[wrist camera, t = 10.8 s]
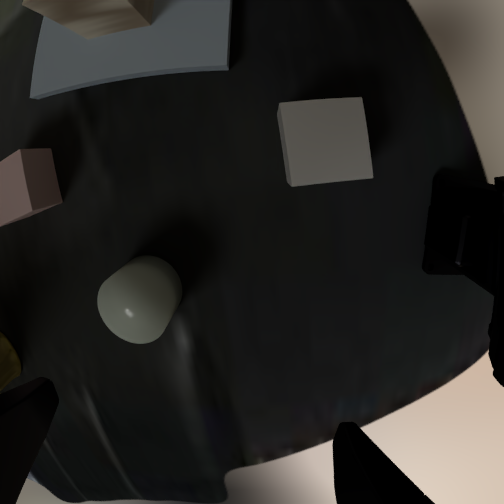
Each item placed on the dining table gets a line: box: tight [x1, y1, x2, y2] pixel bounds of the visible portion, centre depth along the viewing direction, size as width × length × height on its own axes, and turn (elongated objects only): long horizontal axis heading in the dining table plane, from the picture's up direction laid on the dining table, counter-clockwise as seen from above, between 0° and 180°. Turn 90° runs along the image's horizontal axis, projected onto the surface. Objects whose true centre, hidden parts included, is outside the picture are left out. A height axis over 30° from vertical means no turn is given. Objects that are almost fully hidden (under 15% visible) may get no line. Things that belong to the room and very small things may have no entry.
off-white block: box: [277, 97, 373, 187], centre depth 15 cm, size 4×4×4 cm
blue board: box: [30, 0, 232, 99], centre depth 14 cm, size 14×11×1 cm
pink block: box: [0, 148, 63, 226], centre depth 16 cm, size 4×4×4 cm
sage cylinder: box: [98, 255, 182, 344], centre depth 18 cm, size 4×4×4 cm
